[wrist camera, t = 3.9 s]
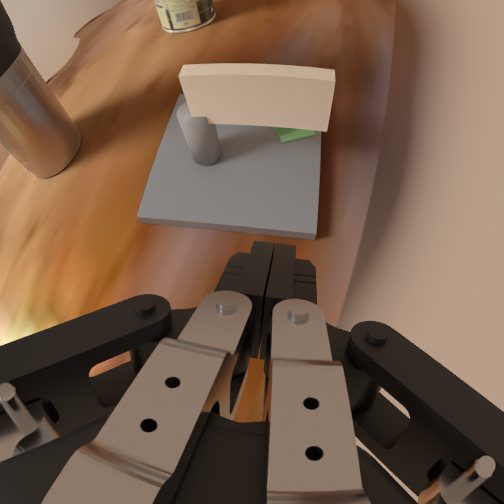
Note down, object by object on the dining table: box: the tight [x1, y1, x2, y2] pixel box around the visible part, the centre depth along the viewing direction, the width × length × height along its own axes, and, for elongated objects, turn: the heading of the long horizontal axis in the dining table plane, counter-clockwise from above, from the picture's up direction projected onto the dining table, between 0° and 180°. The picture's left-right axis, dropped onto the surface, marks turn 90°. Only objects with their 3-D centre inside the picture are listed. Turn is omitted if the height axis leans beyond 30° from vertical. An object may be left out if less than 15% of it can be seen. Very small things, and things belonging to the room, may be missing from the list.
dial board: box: [137, 94, 321, 240], centre depth 34 cm, size 18×18×2 cm
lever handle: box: [177, 63, 335, 165], centre depth 27 cm, size 14×3×12 cm, turn 82°
